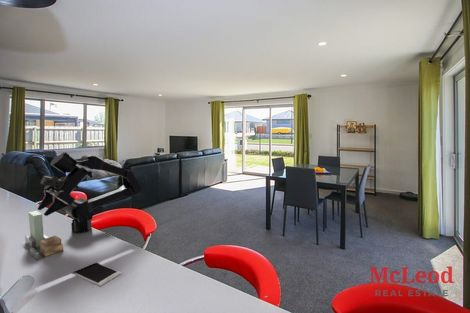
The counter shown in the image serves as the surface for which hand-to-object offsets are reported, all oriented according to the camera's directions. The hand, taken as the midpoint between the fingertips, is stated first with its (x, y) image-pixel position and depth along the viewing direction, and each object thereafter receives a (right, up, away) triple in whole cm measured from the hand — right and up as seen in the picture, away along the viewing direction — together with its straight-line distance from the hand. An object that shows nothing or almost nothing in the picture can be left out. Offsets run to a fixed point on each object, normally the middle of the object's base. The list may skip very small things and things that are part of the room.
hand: (41, 212), depth 94 cm
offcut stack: (+9, -12, -6) cm, 16 cm away
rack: (+3, -13, -4) cm, 14 cm away
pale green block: (-1, -12, -1) cm, 12 cm away
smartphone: (+30, -16, -17) cm, 38 cm away
